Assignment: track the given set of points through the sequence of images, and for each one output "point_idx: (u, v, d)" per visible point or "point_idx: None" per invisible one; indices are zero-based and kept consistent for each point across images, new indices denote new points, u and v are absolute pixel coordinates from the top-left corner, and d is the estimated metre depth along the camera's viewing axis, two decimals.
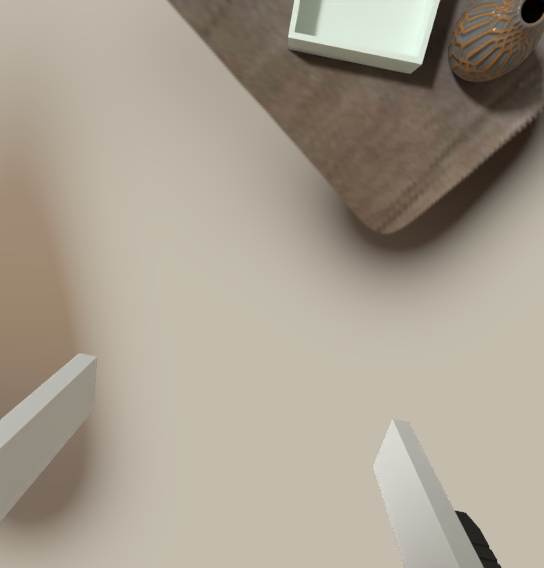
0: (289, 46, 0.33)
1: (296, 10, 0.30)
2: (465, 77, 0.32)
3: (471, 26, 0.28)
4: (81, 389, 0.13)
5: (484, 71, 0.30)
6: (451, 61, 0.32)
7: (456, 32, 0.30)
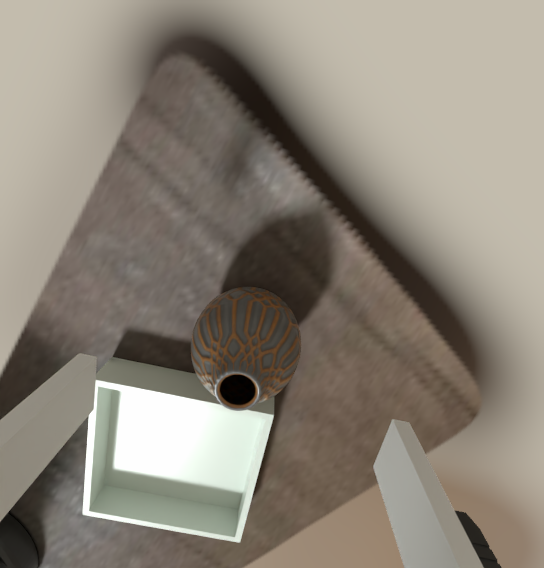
0: None
1: (214, 534, 0.27)
2: None
3: (242, 402, 0.20)
4: (81, 389, 0.13)
5: (295, 369, 0.20)
6: None
7: (241, 388, 0.22)
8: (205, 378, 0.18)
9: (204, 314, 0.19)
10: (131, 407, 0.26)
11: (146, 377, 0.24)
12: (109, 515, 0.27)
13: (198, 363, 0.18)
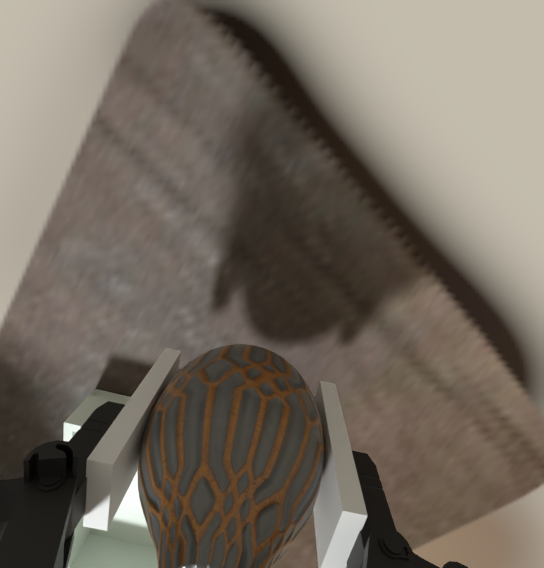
0: None
1: None
2: None
3: None
4: (171, 379, 0.15)
5: None
6: None
7: None
8: (153, 540, 0.10)
9: (160, 406, 0.11)
10: None
11: None
12: None
13: (144, 504, 0.10)
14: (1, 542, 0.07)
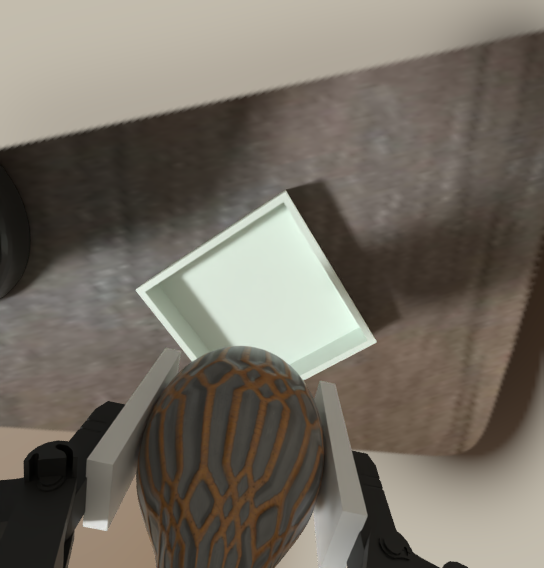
0: None
1: None
2: None
3: None
4: (171, 379, 0.15)
5: None
6: None
7: None
8: (152, 544, 0.10)
9: (160, 408, 0.11)
10: (258, 242, 0.25)
11: None
12: (158, 309, 0.25)
13: (142, 507, 0.10)
14: (1, 542, 0.07)
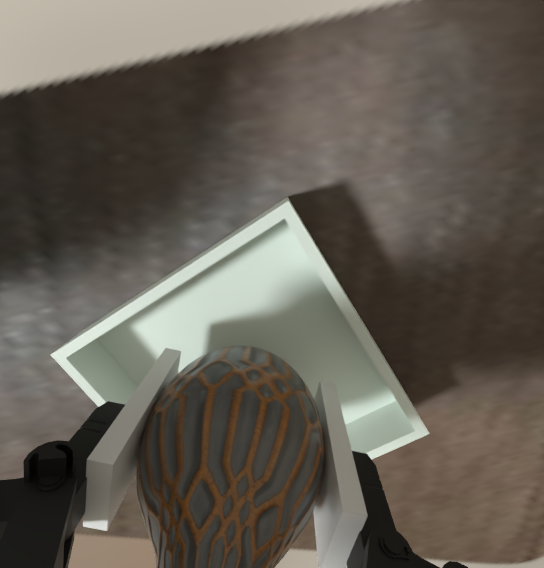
0: None
1: None
2: None
3: None
4: (171, 379, 0.15)
5: None
6: None
7: None
8: (152, 544, 0.10)
9: (160, 408, 0.11)
10: (244, 277, 0.16)
11: (326, 262, 0.15)
12: (88, 383, 0.16)
13: (143, 507, 0.10)
14: (1, 542, 0.07)
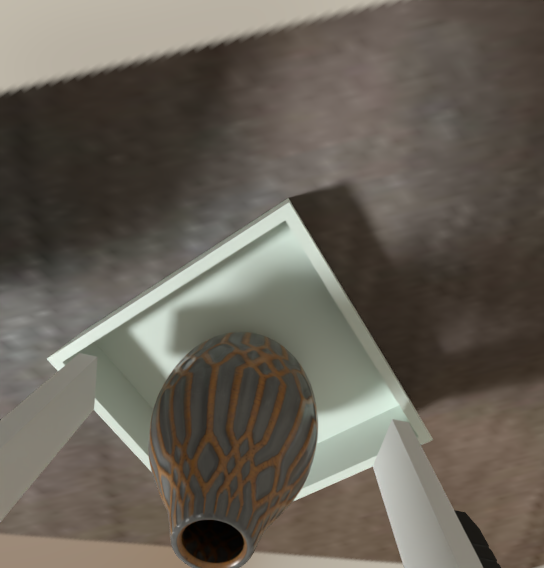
0: None
1: None
2: None
3: None
4: (81, 389, 0.13)
5: None
6: None
7: None
8: (164, 501, 0.11)
9: (169, 385, 0.13)
10: (244, 280, 0.16)
11: (328, 265, 0.15)
12: None
13: (155, 471, 0.11)
14: None
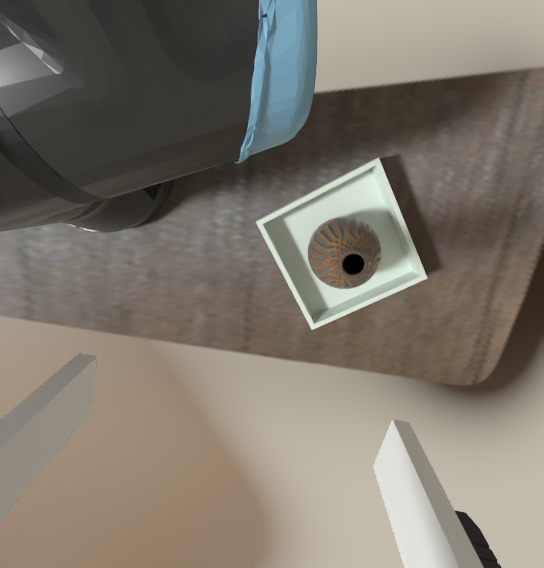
0: None
1: (305, 311, 0.35)
2: None
3: (340, 288, 0.31)
4: (81, 389, 0.13)
5: None
6: None
7: None
8: (328, 261, 0.28)
9: (323, 227, 0.30)
10: (345, 197, 0.34)
11: None
12: (269, 238, 0.33)
13: (321, 254, 0.29)
14: None
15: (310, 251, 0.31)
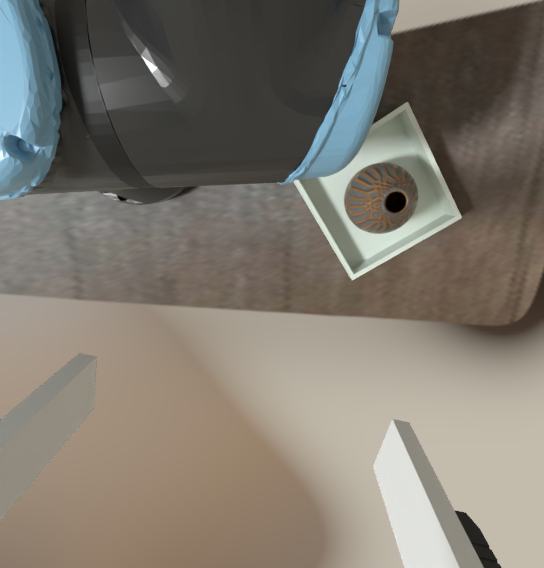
0: None
1: (345, 262, 0.36)
2: None
3: (380, 232, 0.32)
4: (81, 389, 0.13)
5: None
6: None
7: (372, 232, 0.34)
8: (369, 204, 0.30)
9: (359, 174, 0.31)
10: (375, 147, 0.35)
11: None
12: (306, 193, 0.34)
13: (362, 198, 0.30)
14: None
15: (348, 199, 0.32)
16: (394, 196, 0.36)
